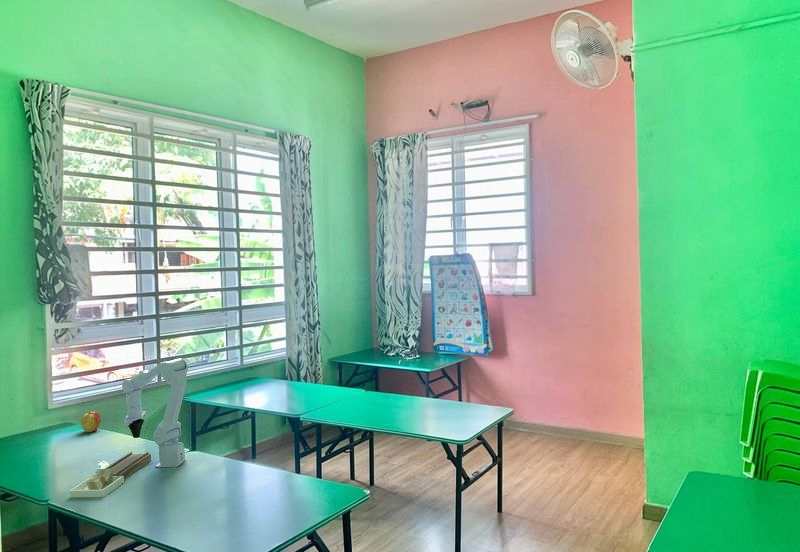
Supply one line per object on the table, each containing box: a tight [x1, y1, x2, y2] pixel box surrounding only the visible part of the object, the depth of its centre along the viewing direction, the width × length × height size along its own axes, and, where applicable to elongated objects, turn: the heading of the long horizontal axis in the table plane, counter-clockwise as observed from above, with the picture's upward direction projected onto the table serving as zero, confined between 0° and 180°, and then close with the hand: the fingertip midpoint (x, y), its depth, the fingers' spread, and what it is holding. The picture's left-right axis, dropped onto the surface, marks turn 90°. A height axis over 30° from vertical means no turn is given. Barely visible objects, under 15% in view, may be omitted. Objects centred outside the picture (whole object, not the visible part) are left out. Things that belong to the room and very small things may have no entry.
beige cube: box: [95, 468, 113, 485], centre depth 216 cm, size 4×4×4 cm
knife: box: [95, 460, 110, 473], centre depth 236 cm, size 30×2×8 cm
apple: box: [80, 411, 102, 433], centre depth 288 cm, size 9×9×10 cm
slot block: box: [105, 451, 152, 481], centre depth 231 cm, size 10×22×4 cm, turn 175°
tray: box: [68, 476, 125, 498], centre depth 213 cm, size 13×13×2 cm
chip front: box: [86, 474, 105, 490], centre depth 212 cm, size 4×4×4 cm
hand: (136, 437), depth 243 cm, fingers closed
